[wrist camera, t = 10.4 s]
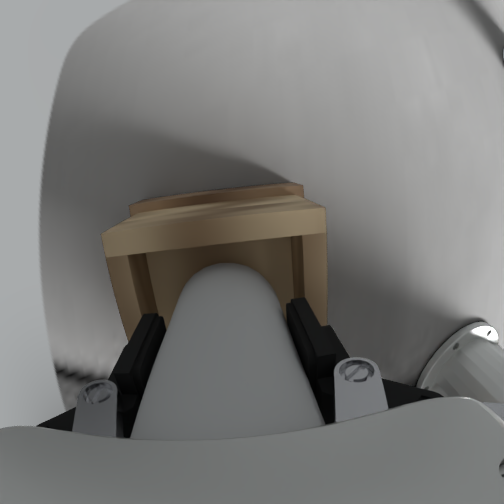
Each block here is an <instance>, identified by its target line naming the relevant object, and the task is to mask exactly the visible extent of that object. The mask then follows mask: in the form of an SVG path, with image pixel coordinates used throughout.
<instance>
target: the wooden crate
mask: <svg viewBox="0 0 504 504" xmlns="http://www.w3.org/2000/svg"><path fill="white" fill-rule="evenodd" d="M129 209H130V216H131V217H130V218H128V219H126V220H124V221H123V222H121V223H119V224H117V225H115V226H114V227H112V228H110V229H108V230H107V231H105V232H103V233H102V234H101V237H102V242H103V247H104V252H105V257H106V261H107V266H108V270H109V274H110V279H111V283H112V287H113V290H114V294H115V298H116V302H117V305H118V309H119V313H120V316H121V319H122V323H123V326H124V329H125V333H126V336H127V339H128V342H129V340H130V338H131V336H132V335H133V333H134V331H135V329H136V327H137V325H138V323H139V321H140V319H141V317H142V315H143V314H148V313H157V314H158V315H159V316H162V317H163V318H164V322H165V326H166V330H167V328H168V326H169V323H170V321H171V318H172V315H173V312H174V310H175V307H176V304H177V302H178V299H179V296H180V294H181V292H182V290H183V288H184V286H185V284H186V283H187V282H188V281H189V279H190V278H191V277H192V276H193V275H194V274H195V273H197V272H199V271H200V270H202V269H203V268H205V267H208V266H211V265H214V264H218V263H236V264H241V265H245V266H248V267H250V268H252V269H253V270H255V271H257V272H259V273H260V274H261V275H262V276H263V277H264V278H265V279H266V280H267V281H268V282H269V284H270V285H271V286H272V288H273V289H274V291H275V292H276V295H277V297H278V300H279V303H280V306H281V308H282V311H283V314H284V316H285V319H286V322H287V317H286V303H291V299H295V298H302V297H305V298H306V300H307V302H308V303H309V305H310V307H311V309H312V310H313V312H314V314H315V316H316V318H317V319H318V321H319V323H320V325H321V326H326V325H327V231H326V208H325V207H323V206H321V205H318V204H316V203H314V202H311V201H309V200H307V199H304V190H303V185H300V184H296V183H279V184H268V185H257V186H247V187H237V188H228V189H219V190H210V191H202V192H194V193H186V194H179V195H172V196H165V197H158V198H151V199H145V200H141V201H139V202H136V203H134V204H132V205H129Z"/></svg>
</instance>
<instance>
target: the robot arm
mask: <svg viewBox="0 0 504 504" xmlns="http://www.w3.org/2000/svg"><path fill="white" fill-rule="evenodd" d="M286 317H287V325H288V327H289V330H290V333H291V336H292V338H293V341H294V344H295V347H296V349H297V352H298V355H299V357H300V360H301V363H302V365H303V368H304V370H305V373H306V376H307V378H308V381H309V383H310V386H311V389H312V391H313V394H314V396H315V399H316V401H317V404H318V407H319V409H320V412H321V414H322V417H323V420H324V422H325V425H321V426H316V427H311V428H305V429H300V430H293V431H287V432H280V433H273V434H265V435H256V436H247V437H236V438H223V439H204V440H156V439H134V438H130V437H131V433H132V430H133V427H134V423H135V420H136V417H137V413H138V410H139V407H140V404H141V401H142V397H143V394H144V391H145V388H146V385H147V382H148V379H149V376H150V374H151V371H152V368H153V365H154V362H155V360H156V357H157V354H158V352H159V349H160V346H161V344H162V341H163V339H164V336H165V333H166V331H167V330H166V326H165V322H164V318H163V317H162V316H159V315H158V314H157V313H148V314H143V315H142V317H141V319H140V321H139V323H138V325H137V327H136V329H135V331H134V333H133V335H132V336H131V338H130V340H129V342H128V344H127V345H126V346H125V347H124V349H123V351H122V353H121V355H120V357H119V359H118V361H117V363H116V365H115V367H114V369H113V371H112V373H111V375H110V377H109V379H108V380H97V381H93V382H91V383H88V384H87V385H86V386H84V387H83V388H82V389H81V390H80V393H79V395H78V400H77V405H76V407H75V408H73V409H71V410H69V411H67V412H64V413H63V414H60V415H58V416H56V417H54V418H52V419H50V420H48V421H45V422H43V423H41V424H39V425H37V426H36V427H35V426H12V427H5V428H1V429H0V504H504V349H502V348H501V347H500V346H499V345H498V334H497V332H496V330H495V329H494V328H493V327H492V326H491V325H489V324H488V323H486V322H475V323H472V324H470V325H467V326H466V327H464V328H462V329H460V330H459V331H458V332H456V333H455V334H454V335H452V336H451V337H450V338H449V339H448V340H447V341H446V342H445V343H444V344H443V345H442V346H441V347H440V348H439V349H438V350H437V351H436V353H435V354H434V355H433V357H432V358H431V359H430V360H429V362H428V363H427V365H426V367H425V368H424V370H423V372H422V374H421V376H420V378H419V380H418V383H417V386H416V387H413V386H409V385H405V384H401V383H397V382H393V381H390V380H386V379H382V378H381V374H380V370H379V368H378V366H377V364H375V363H374V362H373V361H371V360H369V359H366V358H362V357H352V358H350V357H349V355H348V354H347V352H346V350H345V349H344V347H343V345H342V344H341V342H340V340H339V339H338V337H337V335H336V334H335V332H334V330H333V329H332V327H331V326H330V325H326V326H321V325H320V323H319V321H318V319H317V318H316V316H315V314H314V312H313V310H312V309H311V307H310V305H309V303H308V302H307V300H306V298H305V297H302V298H295V299H291V303H286Z"/></svg>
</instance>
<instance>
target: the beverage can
mask: <svg viewBox="0 0 504 504" xmlns="http://www.w3.org/2000/svg"><path fill="white" fill-rule="evenodd" d="M321 425H325V422H324V420H323V417H322V414H321V412H320V409H319V407H318V404H317V401H316V399H315V396H314V394H313V391H312V389H311V386H310V383H309V381H308V378H307V376H306V373H305V370H304V368H303V365H302V363H301V360H300V357H299V355H298V352H297V349H296V347H295V344H294V341H293V338H292V336H291V333H290V330H289V327H288V325H287V322H286V319H285V316H284V314H283V311H282V308H281V306H280V303H279V300H278V297H277V295H276V292H275V291H274V289H273V288H272V286H271V285H270V284H269V282H268V281H267V280H266V279H265V278H264V277H263V276H262V275H261V274H260V273H259V272H257V271H255V270H253V269H252V268H250V267H248V266H245V265H241V264H236V263H218V264H214V265H211V266H208V267H205V268H203V269H202V270H200V271H199V272H197V273H195V274H194V275H193V276H192V277H191V278H190V279H189V281H188V282H187V283H186V284H185V286H184V288H183V290H182V292H181V294H180V296H179V299H178V302H177V304H176V307H175V310H174V312H173V315H172V318H171V321H170V323H169V326H168V328H167V331H166V333H165V336H164V339H163V341H162V344H161V346H160V349H159V352H158V354H157V357H156V360H155V362H154V365H153V368H152V371H151V374H150V376H149V379H148V382H147V385H146V388H145V391H144V394H143V397H142V401H141V404H140V407H139V410H138V413H137V417H136V420H135V423H134V427H133V430H132V433H131V437H130V438H134V439H156V440H204V439H223V438H236V437H247V436H256V435H265V434H273V433H280V432H287V431H293V430H300V429H305V428H311V427H316V426H321Z"/></svg>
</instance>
